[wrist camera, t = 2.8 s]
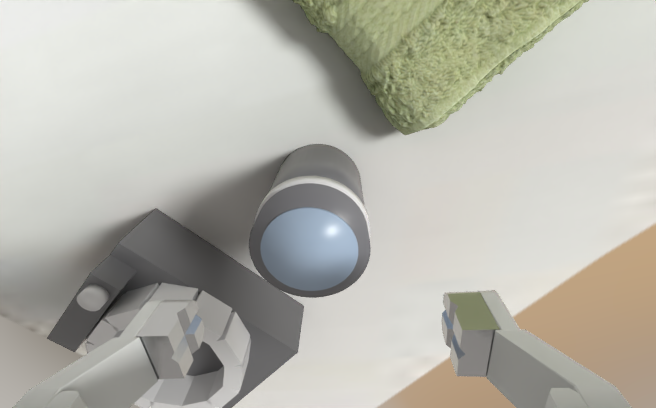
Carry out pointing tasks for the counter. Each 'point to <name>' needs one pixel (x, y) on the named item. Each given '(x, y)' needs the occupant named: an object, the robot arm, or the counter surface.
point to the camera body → (214, 309)
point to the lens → (312, 224)
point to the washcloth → (433, 47)
